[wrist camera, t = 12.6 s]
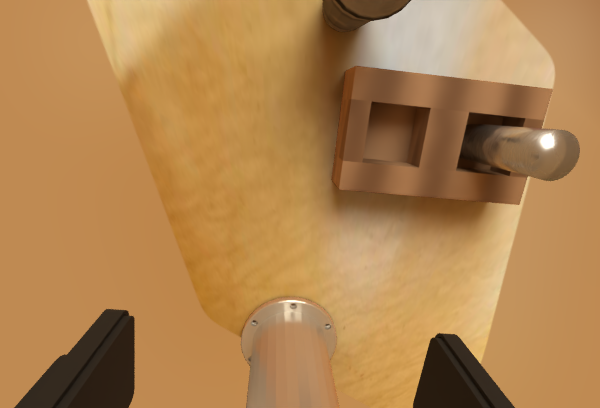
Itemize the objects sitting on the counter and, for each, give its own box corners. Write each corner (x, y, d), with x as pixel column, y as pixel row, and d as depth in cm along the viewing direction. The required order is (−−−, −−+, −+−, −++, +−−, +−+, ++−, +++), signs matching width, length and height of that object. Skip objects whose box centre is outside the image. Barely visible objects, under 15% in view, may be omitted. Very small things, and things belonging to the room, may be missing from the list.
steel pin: (483, 161, 39) (570, 182, 27) (450, 158, 39) (524, 178, 27) (492, 125, 38) (586, 132, 26) (457, 122, 37) (538, 127, 26)
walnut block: (518, 91, 38) (552, 89, 34) (491, 193, 42) (519, 204, 37) (345, 71, 37) (355, 65, 32) (331, 179, 40) (338, 189, 35)
